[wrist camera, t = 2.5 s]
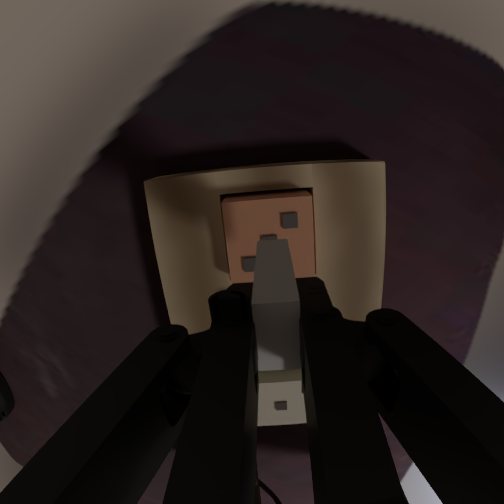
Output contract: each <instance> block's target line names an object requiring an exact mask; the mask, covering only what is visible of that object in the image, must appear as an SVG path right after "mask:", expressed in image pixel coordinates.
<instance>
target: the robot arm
mask: <svg viewBox="0 0 504 504" xmlns="http://www.w3.org/2000/svg"><path fill="white" fill-rule="evenodd" d="M208 304H209V309H210V315H211V321H212V322H211V326H210V329H208V330H205V331H202V332H199V333H194V334H188V330H187V328H185V327H184V326H182V325H178V324H167V325H163V326H161V327H159V328H156V329H155V330H153V331H152V332H151V333H150V334H149V335H148V336H147V337H146V338H145V339H144V340H143V341H142V342H141V343H140V344H139V345H138V346H137V347H136V348H135V349H134V350H133V351H132V352H131V353H130V355H129V356H128V357H127V358H126V359H125V360H124V361H123V362H122V363H121V364H120V365H119V366H118V367H117V368H116V369H115V370H114V371H113V372H112V373H111V374H110V375H109V376H108V377H107V379H106V380H105V381H104V382H103V383H102V384H101V385H100V386H99V387H98V388H97V389H96V390H95V391H94V392H93V393H92V394H91V395H90V396H89V398H88V399H87V400H86V401H85V402H84V403H83V404H82V405H81V406H80V407H79V408H78V409H77V410H76V411H75V412H74V413H73V414H72V416H71V417H70V418H69V419H68V420H67V421H66V422H65V423H64V424H63V425H62V426H61V427H60V428H59V429H58V431H57V432H56V433H55V434H54V435H53V436H52V437H51V438H50V439H49V440H48V441H47V442H46V443H45V445H44V446H43V447H42V448H41V449H40V450H39V451H38V452H37V453H36V454H35V455H34V456H33V458H32V459H31V460H30V461H29V462H28V463H27V464H26V465H25V466H24V467H23V468H22V470H21V471H20V472H19V473H18V474H17V475H16V476H15V477H14V478H13V480H12V481H11V482H10V483H9V484H8V485H7V486H6V487H5V488H4V489H3V491H2V492H1V493H0V504H137V503H138V501H139V499H140V498H141V496H142V495H143V493H144V492H145V490H146V488H147V487H148V485H149V484H150V482H151V480H152V479H153V477H154V476H155V474H156V472H157V471H158V469H159V468H160V466H161V464H162V463H163V461H164V459H165V458H166V456H167V455H168V453H169V451H170V450H171V448H172V446H173V445H174V443H175V441H176V440H177V438H178V437H179V435H180V433H181V435H180V438H179V442H178V446H177V450H176V453H175V457H174V461H173V465H172V469H171V473H170V477H169V480H168V484H167V488H166V492H165V496H164V500H163V504H254V495H255V473H256V449H257V423H258V396H259V376H258V370H259V371H270V370H286V369H299V368H301V372H302V393H303V394H304V403H305V412H306V421H307V430H308V440H309V450H310V460H311V470H312V481H313V492H314V504H408V503H407V502H406V500H405V498H404V495H403V492H402V488H401V485H400V481H399V478H398V474H397V471H396V468H395V464H394V461H393V458H392V455H391V451H390V448H389V445H388V442H387V439H386V436H385V433H384V430H383V426H382V423H381V420H380V417H379V414H380V415H381V417H382V418H383V420H384V421H385V422H386V424H387V425H388V427H389V428H390V429H391V431H392V432H393V434H394V435H395V436H396V438H397V439H398V441H399V442H400V443H401V445H402V446H403V448H404V449H405V451H406V452H407V453H408V455H409V456H410V458H411V459H412V460H413V462H414V463H415V465H416V466H417V467H418V469H419V470H420V472H421V473H422V475H423V476H424V477H425V479H426V480H427V482H428V483H429V484H430V486H431V487H432V489H433V490H434V491H435V493H436V494H437V496H438V497H439V499H440V500H441V502H442V503H443V504H504V402H503V401H501V399H500V398H499V397H497V396H496V395H495V394H494V393H493V392H492V391H491V390H490V389H488V387H486V386H485V385H484V384H483V383H482V382H481V381H480V380H479V379H478V378H476V377H475V376H474V375H473V374H472V373H471V372H470V371H469V370H468V369H466V368H465V367H464V366H463V365H462V364H461V363H460V362H458V361H457V360H456V359H455V358H454V357H453V356H452V355H450V354H449V353H448V352H447V351H446V350H445V349H444V348H442V347H441V346H440V345H439V344H438V343H437V342H435V341H434V340H433V339H432V338H431V337H430V336H428V335H427V334H426V333H425V332H424V331H422V330H421V329H420V328H419V327H418V326H416V325H415V324H414V323H413V322H412V321H410V320H409V319H408V318H407V317H406V316H404V315H403V314H402V313H400V312H398V311H396V310H392V309H388V308H387V309H386V308H381V309H376V310H373V311H371V312H369V313H368V314H367V315H366V320H365V321H354V320H348V319H345V318H343V316H342V313H341V312H340V311H339V309H337V308H335V307H333V305H332V302H331V299H330V297H329V294H328V291H327V289H326V286H325V284H324V281H323V280H321V279H320V278H318V277H317V276H316V277H303V278H295V274H294V269H293V264H292V259H291V254H290V250H289V245H288V240H287V239H277V240H264V241H257V248H256V259H255V270H254V281H253V282H246V283H233V284H231V285H230V286H229V287H228V288H227V289H226V290H222V291H219V292H216V293H214V294H212V295H211V296H210V297H209V298H208ZM13 409H14V398H13V395H12V392H11V390H10V388H9V386H8V384H7V382H6V381H5V379H4V378H3V376H2V374H1V373H0V421H2V420H4V419H5V418H7V417H8V415H9V414H10V413H11V411H12V410H13ZM378 413H379V414H378Z"/></svg>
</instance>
